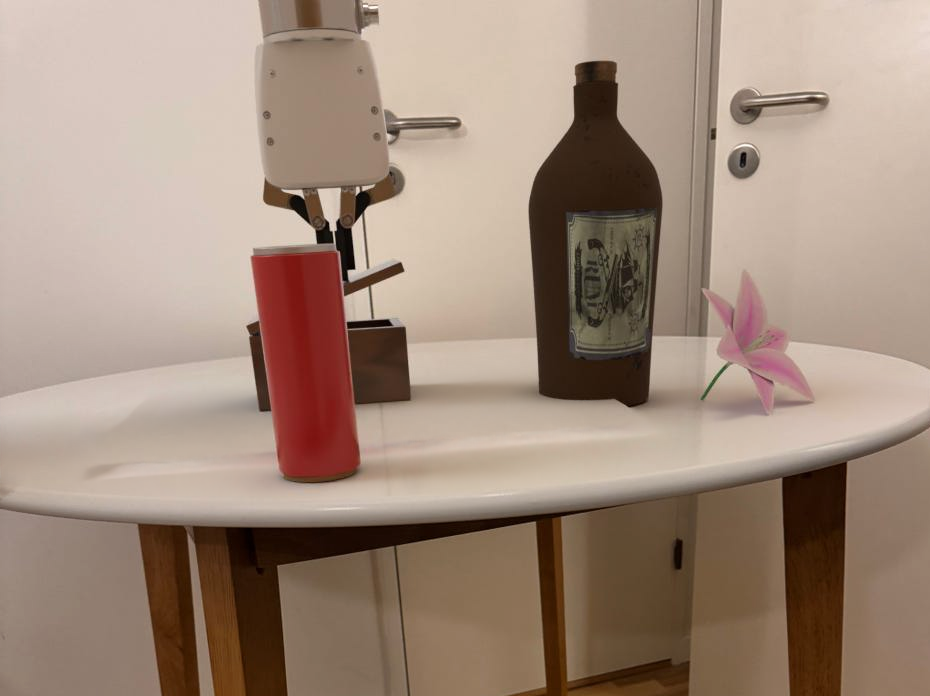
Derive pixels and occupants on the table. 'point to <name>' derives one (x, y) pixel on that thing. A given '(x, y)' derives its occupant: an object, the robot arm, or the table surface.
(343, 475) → the pad
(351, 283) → the lid
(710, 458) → the table surface
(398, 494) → the table surface
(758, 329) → the lily
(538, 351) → the brown liquor bottle
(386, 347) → the dark wooden box
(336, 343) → the can
